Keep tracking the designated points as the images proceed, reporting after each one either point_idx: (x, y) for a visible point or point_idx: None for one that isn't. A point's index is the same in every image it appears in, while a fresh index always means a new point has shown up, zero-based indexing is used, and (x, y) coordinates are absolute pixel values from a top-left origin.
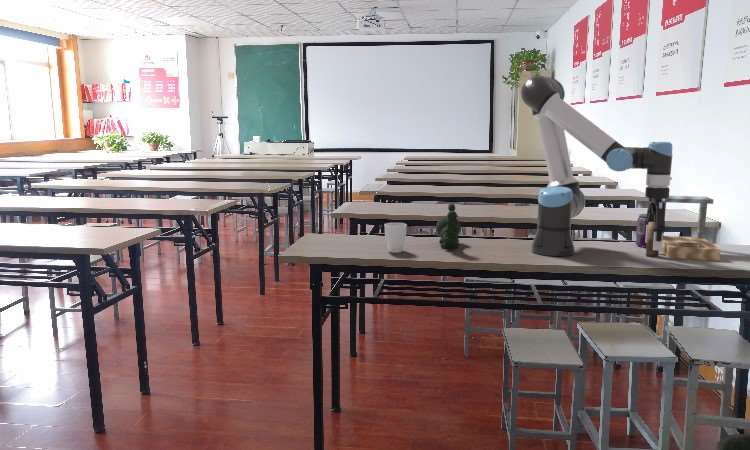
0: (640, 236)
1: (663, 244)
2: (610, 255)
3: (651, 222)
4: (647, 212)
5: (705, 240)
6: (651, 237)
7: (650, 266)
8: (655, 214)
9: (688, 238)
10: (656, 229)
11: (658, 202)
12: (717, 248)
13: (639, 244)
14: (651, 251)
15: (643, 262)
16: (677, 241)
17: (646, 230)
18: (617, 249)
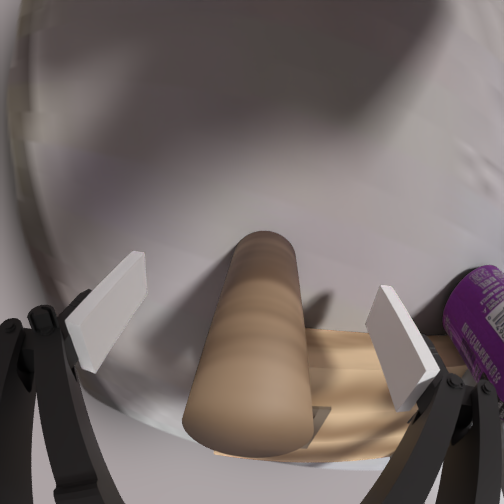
0: (490, 297)
1: (358, 359)
2: (251, 30)
3: (265, 420)
4: (487, 458)
5: (360, 458)
6: (218, 308)
7: (51, 186)
8: (57, 479)
9: (401, 435)
10: (8, 320)
11: None
12: (226, 454)
13: (471, 274)
14: (231, 261)
15: (106, 172)
16: (359, 410)
17: (411, 337)
18: (428, 131)
